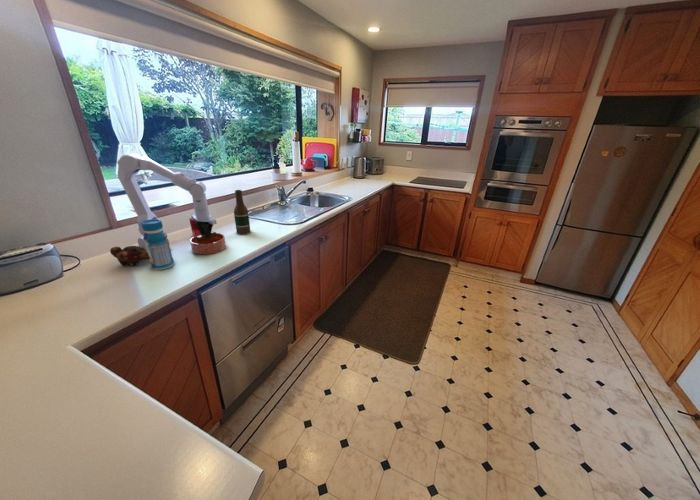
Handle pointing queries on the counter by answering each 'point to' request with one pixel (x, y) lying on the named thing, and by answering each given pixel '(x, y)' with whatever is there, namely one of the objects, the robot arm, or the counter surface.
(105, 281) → the counter surface
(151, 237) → the beverage bottle
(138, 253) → the decorative turtle
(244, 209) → the beer bottle
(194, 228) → the canned food
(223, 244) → the bowl
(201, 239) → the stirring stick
